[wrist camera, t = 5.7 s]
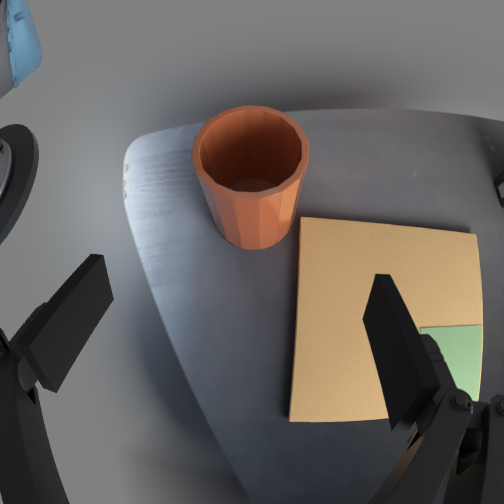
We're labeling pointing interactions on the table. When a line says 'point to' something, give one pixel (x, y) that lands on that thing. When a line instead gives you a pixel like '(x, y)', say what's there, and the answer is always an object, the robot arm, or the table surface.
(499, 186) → the camera
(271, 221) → the cup
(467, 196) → the table surface
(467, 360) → the pad
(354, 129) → the table surface
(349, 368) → the mat
